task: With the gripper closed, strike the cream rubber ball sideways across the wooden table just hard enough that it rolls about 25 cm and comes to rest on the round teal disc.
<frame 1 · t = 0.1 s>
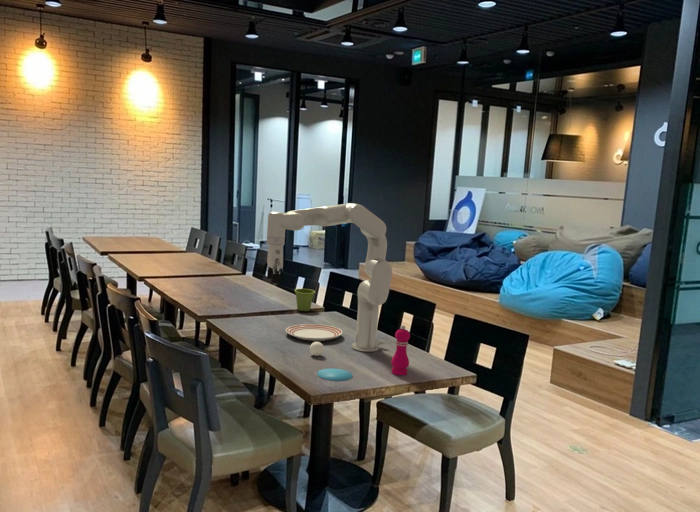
hand: (273, 280, 258), 31 cm above the table, tool pointing down, fingers open, 9 cm apart
plant pot: (303, 310, 344), on the table
pepper mill: (399, 373, 246), on the table
dinner plate: (313, 337, 292), on the table
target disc: (334, 374, 238), on the table
ball: (316, 348, 261), on the table
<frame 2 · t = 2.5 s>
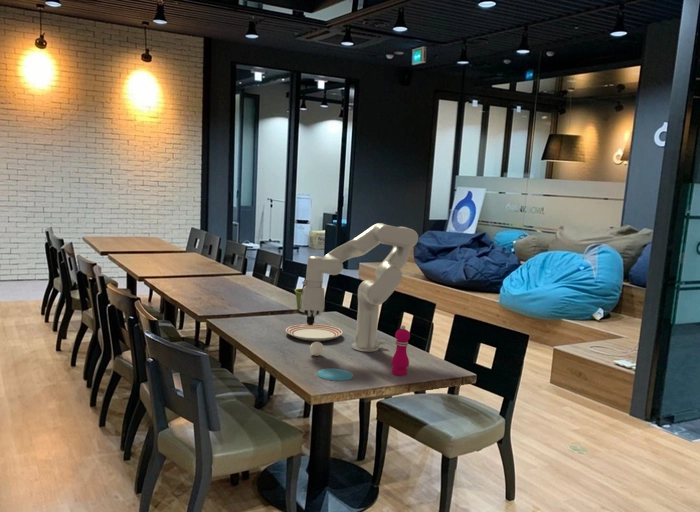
hand: (310, 324, 268), 11 cm above the table, tool pointing down, fingers closed
nothing on the table moved.
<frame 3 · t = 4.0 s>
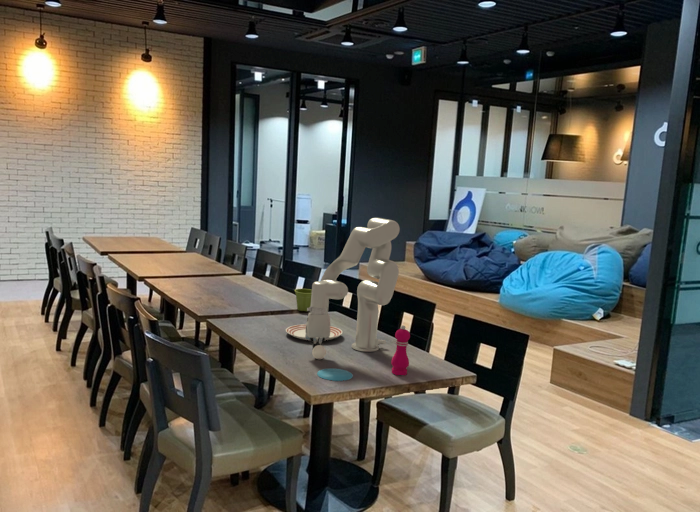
hand: (316, 351, 261), 2 cm above the table, tool pointing down, fingers closed
ball: (319, 352, 256), on the table
everything else where it was.
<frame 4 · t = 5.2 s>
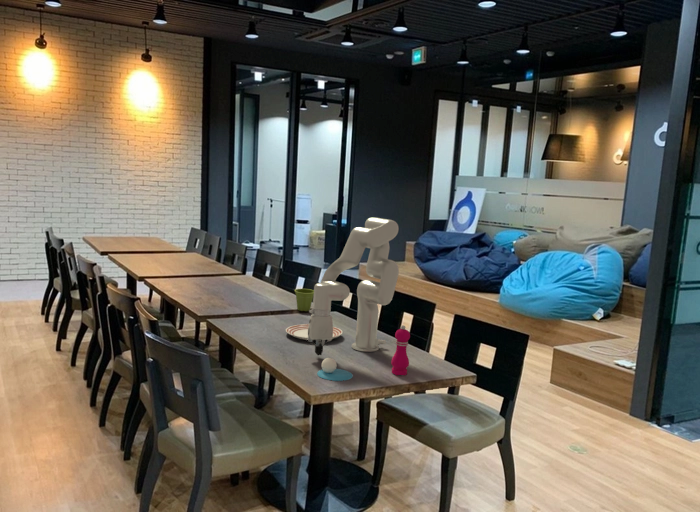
hand: (318, 354, 258), 2 cm above the table, tool pointing down, fingers closed
ball: (329, 365, 239), on the table
everything else where it was.
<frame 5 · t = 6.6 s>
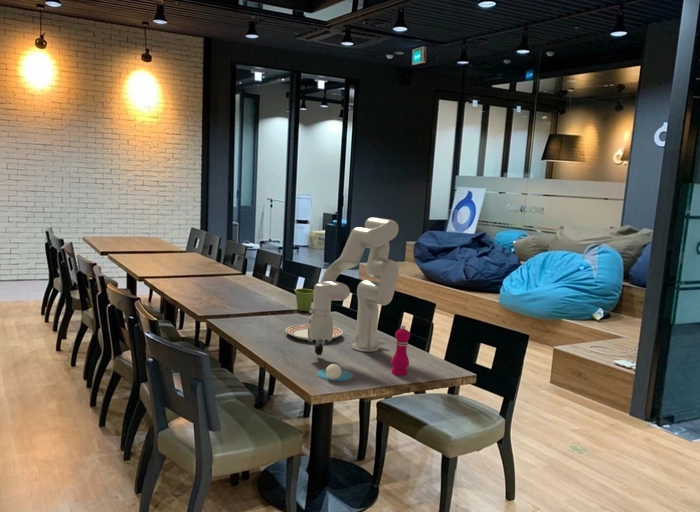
hand: (318, 354, 258), 2 cm above the table, tool pointing down, fingers closed
ball: (333, 371, 232), on the table
everything else where it was.
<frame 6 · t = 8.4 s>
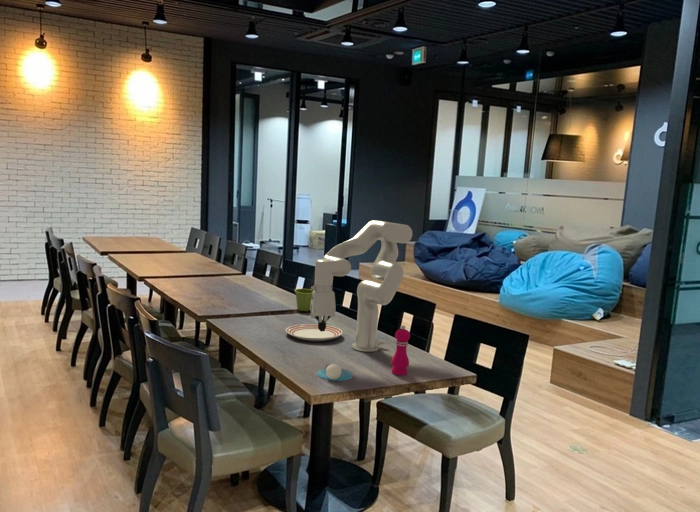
hand: (321, 330, 257), 12 cm above the table, tool pointing down, fingers closed
nothing on the table moved.
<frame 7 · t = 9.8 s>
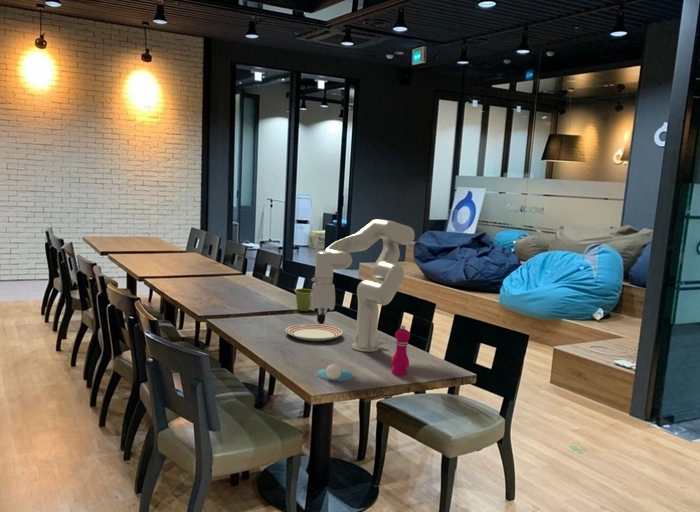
hand: (320, 323, 256), 15 cm above the table, tool pointing down, fingers closed
nothing on the table moved.
at the end: ball 5.4 cm from the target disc (horizontally); ball at rest at the end (0.0 cm/s); ball moved 29.9 cm from its start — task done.
